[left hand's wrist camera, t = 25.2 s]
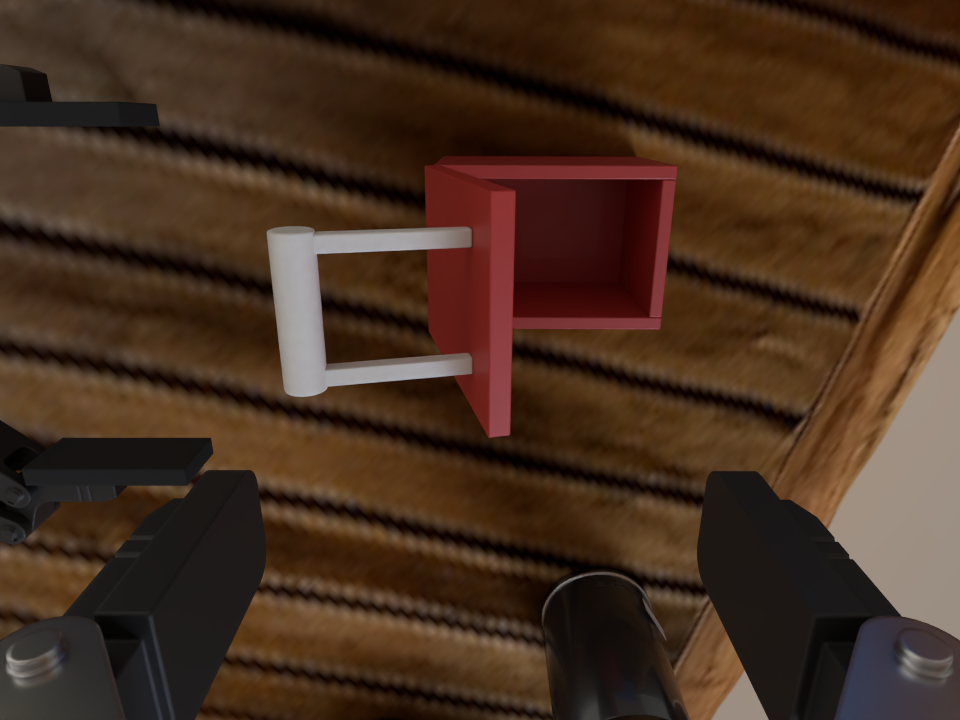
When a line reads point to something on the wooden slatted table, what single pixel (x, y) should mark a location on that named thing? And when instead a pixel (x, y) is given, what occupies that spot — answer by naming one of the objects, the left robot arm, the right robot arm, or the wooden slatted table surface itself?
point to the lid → (451, 296)
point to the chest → (585, 237)
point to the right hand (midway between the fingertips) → (173, 304)
